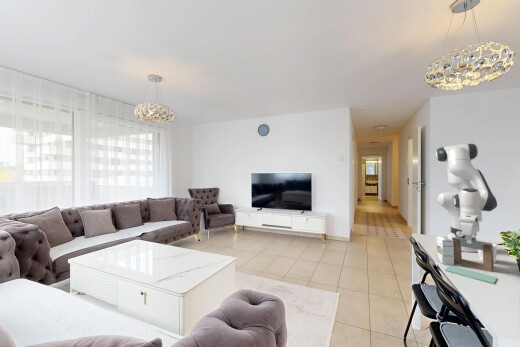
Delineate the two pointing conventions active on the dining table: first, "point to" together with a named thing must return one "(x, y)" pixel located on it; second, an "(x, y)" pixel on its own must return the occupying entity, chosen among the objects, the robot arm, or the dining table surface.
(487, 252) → the rack
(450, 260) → the syrup box
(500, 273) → the dining table surface
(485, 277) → the mat
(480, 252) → the white cup
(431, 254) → the dining table surface
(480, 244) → the rail
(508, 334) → the dining table surface
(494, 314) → the dining table surface
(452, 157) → the robot arm
